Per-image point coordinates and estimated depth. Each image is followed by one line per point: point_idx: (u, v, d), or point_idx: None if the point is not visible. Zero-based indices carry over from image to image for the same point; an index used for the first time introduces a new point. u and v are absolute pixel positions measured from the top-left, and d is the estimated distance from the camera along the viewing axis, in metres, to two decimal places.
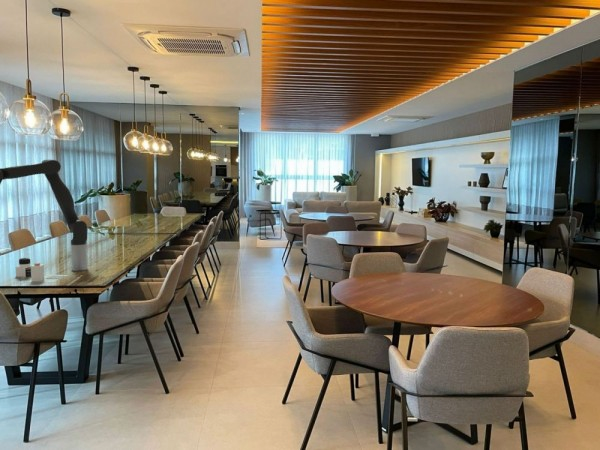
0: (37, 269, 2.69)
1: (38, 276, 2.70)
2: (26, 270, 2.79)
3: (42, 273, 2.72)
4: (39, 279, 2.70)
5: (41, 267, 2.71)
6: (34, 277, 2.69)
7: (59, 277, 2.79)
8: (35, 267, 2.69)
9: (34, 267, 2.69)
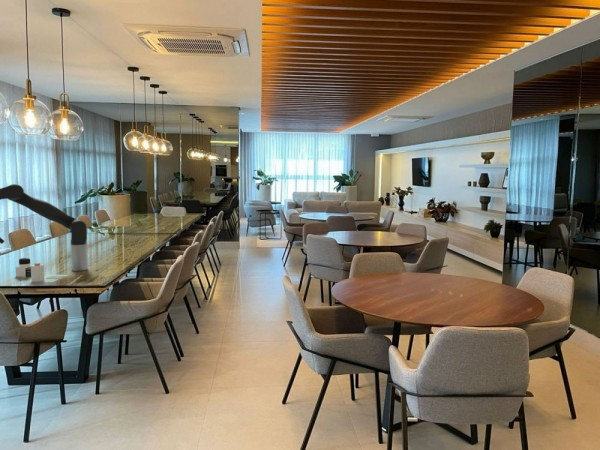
0: (37, 269, 2.69)
1: (38, 276, 2.70)
2: (26, 270, 2.79)
3: (42, 273, 2.72)
4: (39, 279, 2.70)
5: (41, 267, 2.71)
6: (34, 277, 2.69)
7: (59, 277, 2.79)
8: (35, 267, 2.69)
9: (34, 267, 2.69)
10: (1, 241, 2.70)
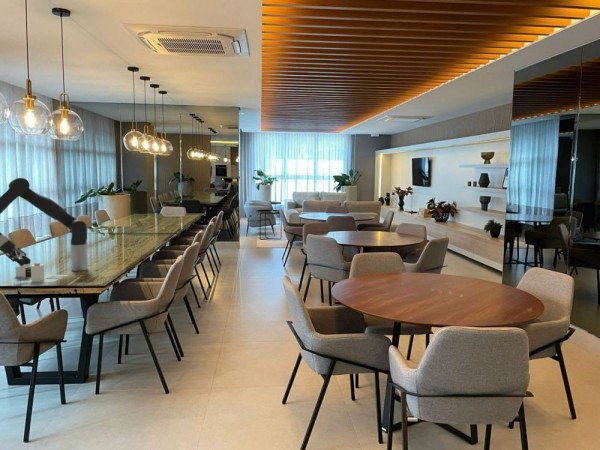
0: (37, 269, 2.69)
1: (38, 276, 2.70)
2: (26, 270, 2.79)
3: (42, 273, 2.72)
4: (39, 279, 2.70)
5: (41, 267, 2.71)
6: (34, 277, 2.69)
7: (59, 277, 2.79)
8: (35, 267, 2.69)
9: (34, 267, 2.69)
10: (27, 260, 2.74)
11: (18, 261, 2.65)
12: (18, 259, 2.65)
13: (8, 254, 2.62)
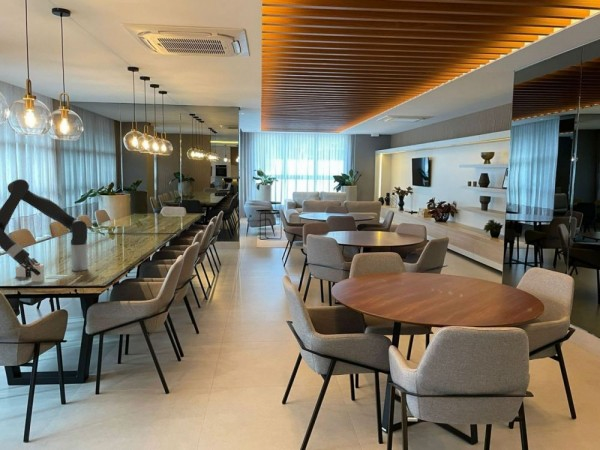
0: (37, 269, 2.69)
1: (38, 276, 2.70)
2: (26, 270, 2.79)
3: (42, 273, 2.72)
4: (39, 279, 2.70)
5: (41, 267, 2.71)
6: (34, 277, 2.69)
7: (59, 277, 2.79)
8: (35, 267, 2.69)
9: None
10: None
11: None
12: (34, 269, 2.68)
13: (24, 265, 2.64)
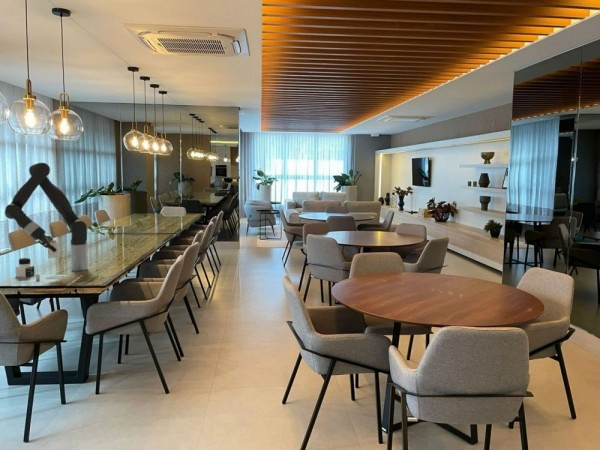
0: (53, 246, 2.75)
1: (54, 253, 2.76)
2: (26, 270, 2.79)
3: (58, 250, 2.78)
4: (55, 256, 2.76)
5: (57, 244, 2.77)
6: (51, 254, 2.76)
7: (59, 277, 2.79)
8: (51, 244, 2.75)
9: None
10: None
11: None
12: (51, 245, 2.74)
13: (41, 241, 2.70)
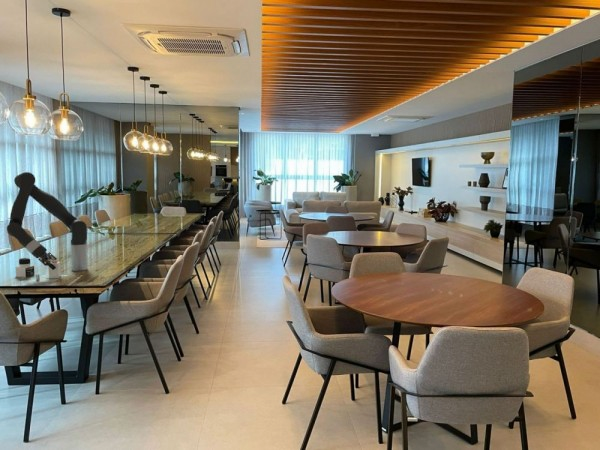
0: None
1: (55, 273, 2.78)
2: (26, 270, 2.79)
3: (59, 270, 2.80)
4: (56, 276, 2.78)
5: (58, 264, 2.79)
6: (52, 274, 2.77)
7: (59, 277, 2.79)
8: (53, 264, 2.77)
9: None
10: None
11: (50, 265, 2.75)
12: (50, 263, 2.74)
13: (41, 258, 2.71)
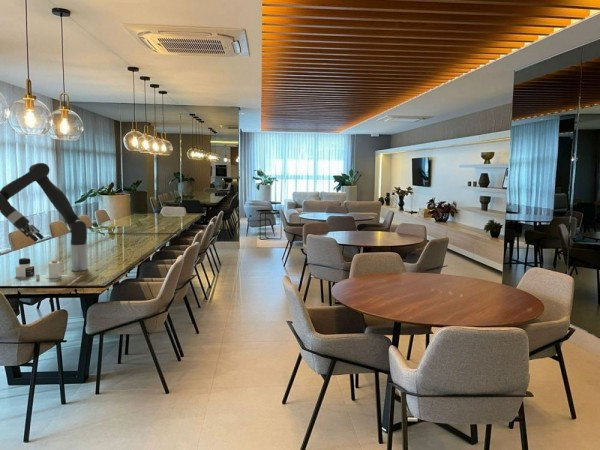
0: (54, 266, 2.77)
1: (55, 273, 2.78)
2: (26, 270, 2.79)
3: (59, 270, 2.80)
4: (56, 276, 2.78)
5: (58, 264, 2.79)
6: (52, 274, 2.77)
7: (59, 277, 2.79)
8: (53, 264, 2.77)
9: (52, 264, 2.77)
10: (40, 237, 2.78)
11: None
12: (32, 235, 2.69)
13: (22, 229, 2.66)
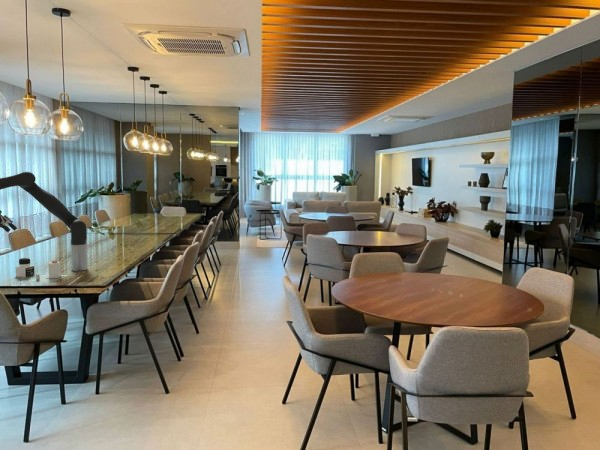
0: (54, 266, 2.77)
1: (55, 273, 2.78)
2: (26, 270, 2.79)
3: (59, 270, 2.80)
4: (56, 276, 2.78)
5: (58, 264, 2.79)
6: (52, 274, 2.77)
7: (59, 277, 2.79)
8: (53, 264, 2.77)
9: (52, 264, 2.77)
10: (13, 227, 2.73)
11: (4, 227, 2.64)
12: (4, 225, 2.64)
13: None
